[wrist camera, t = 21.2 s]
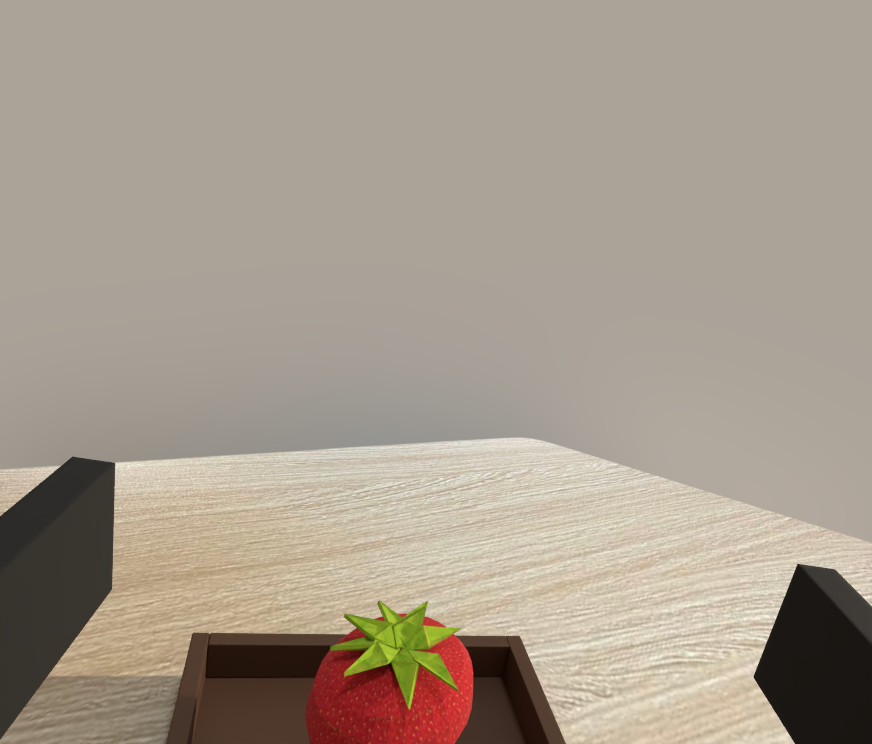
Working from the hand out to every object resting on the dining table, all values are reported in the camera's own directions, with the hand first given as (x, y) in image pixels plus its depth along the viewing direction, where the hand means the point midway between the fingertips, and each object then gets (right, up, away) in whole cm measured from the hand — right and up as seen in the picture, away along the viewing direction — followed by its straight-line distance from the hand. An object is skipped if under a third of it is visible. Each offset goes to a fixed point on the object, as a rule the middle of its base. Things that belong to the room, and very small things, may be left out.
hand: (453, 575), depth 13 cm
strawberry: (-3, -14, +14) cm, 20 cm away
